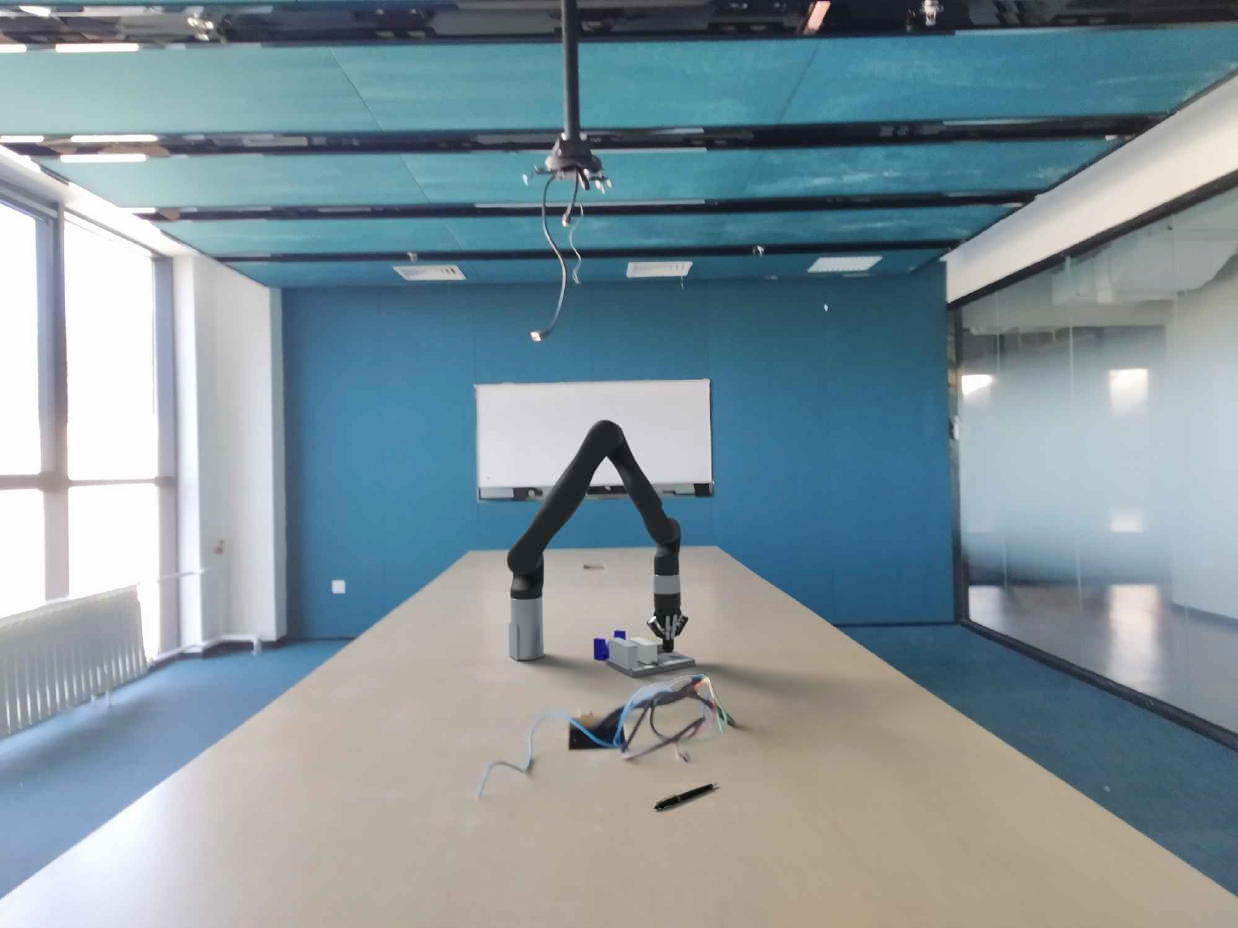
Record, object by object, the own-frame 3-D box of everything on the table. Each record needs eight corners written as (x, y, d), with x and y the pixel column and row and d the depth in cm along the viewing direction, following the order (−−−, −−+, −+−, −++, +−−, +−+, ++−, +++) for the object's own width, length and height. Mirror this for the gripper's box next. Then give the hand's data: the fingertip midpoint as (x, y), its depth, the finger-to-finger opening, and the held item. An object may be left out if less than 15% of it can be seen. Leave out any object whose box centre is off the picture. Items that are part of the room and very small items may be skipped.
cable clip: (613, 649, 212) (612, 629, 212) (625, 651, 209) (625, 631, 209) (589, 659, 202) (589, 638, 202) (602, 661, 199) (602, 640, 199)
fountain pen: (716, 785, 123) (716, 776, 123) (721, 787, 122) (721, 779, 122) (651, 810, 115) (651, 801, 115) (656, 813, 114) (655, 804, 114)
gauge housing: (631, 677, 183) (631, 648, 183) (606, 664, 195) (605, 637, 195) (695, 665, 193) (694, 637, 193) (666, 653, 205) (666, 627, 205)
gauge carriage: (651, 666, 186) (651, 647, 186) (629, 656, 196) (629, 638, 196) (664, 664, 188) (664, 645, 188) (641, 654, 198) (641, 636, 198)
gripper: (679, 585, 203) (680, 645, 204) (639, 590, 197) (641, 652, 197) (694, 589, 197) (695, 651, 197) (654, 594, 190) (655, 659, 191)
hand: (668, 652), depth 197 cm, fingers closed
